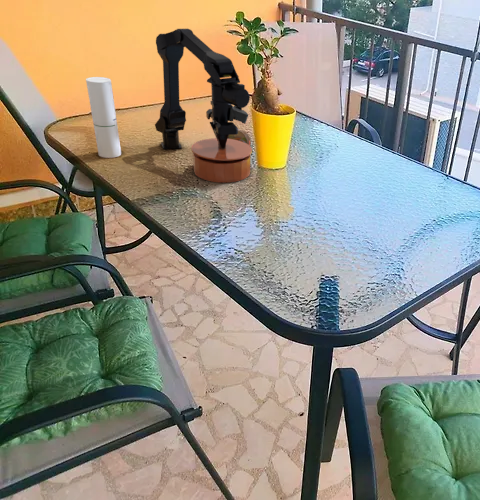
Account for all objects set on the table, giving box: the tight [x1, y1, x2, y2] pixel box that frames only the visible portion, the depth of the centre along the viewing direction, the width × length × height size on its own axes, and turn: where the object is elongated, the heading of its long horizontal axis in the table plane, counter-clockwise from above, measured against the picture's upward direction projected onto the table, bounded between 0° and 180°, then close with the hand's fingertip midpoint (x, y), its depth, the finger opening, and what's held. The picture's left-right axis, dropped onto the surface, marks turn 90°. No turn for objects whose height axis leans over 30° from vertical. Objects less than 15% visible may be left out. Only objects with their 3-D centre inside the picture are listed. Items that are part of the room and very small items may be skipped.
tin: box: [228, 128, 252, 147], centre depth 177 cm, size 15×3×8 cm, turn 62°
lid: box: [190, 137, 253, 161], centre depth 156 cm, size 20×20×5 cm
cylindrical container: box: [85, 76, 122, 159], centre depth 155 cm, size 7×7×25 cm
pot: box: [192, 152, 252, 183], centre depth 159 cm, size 19×19×6 cm
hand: (222, 146), depth 156 cm, fingers closed on lid, 3 cm apart
